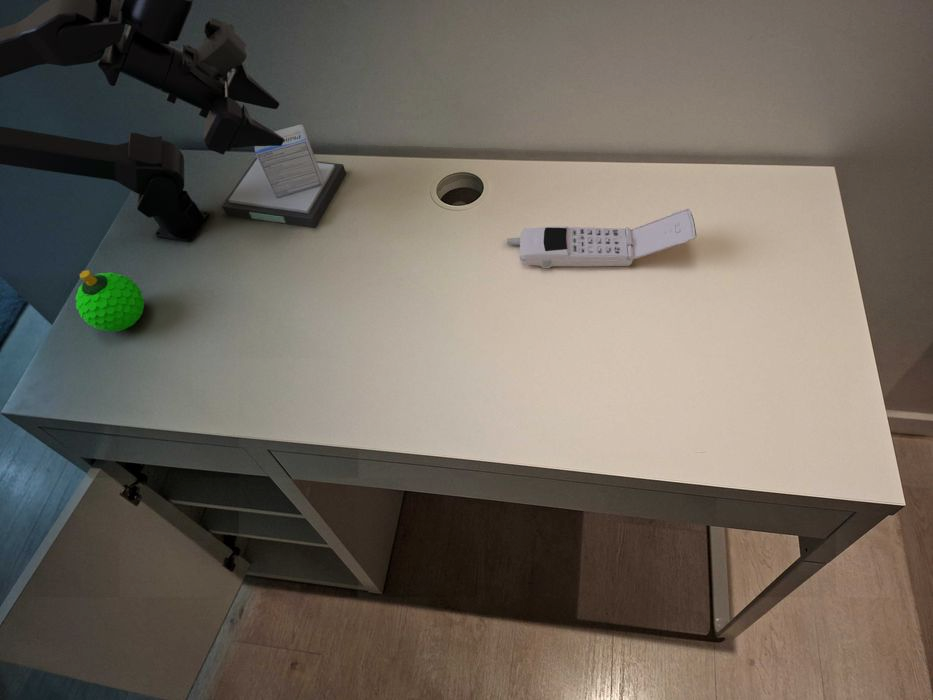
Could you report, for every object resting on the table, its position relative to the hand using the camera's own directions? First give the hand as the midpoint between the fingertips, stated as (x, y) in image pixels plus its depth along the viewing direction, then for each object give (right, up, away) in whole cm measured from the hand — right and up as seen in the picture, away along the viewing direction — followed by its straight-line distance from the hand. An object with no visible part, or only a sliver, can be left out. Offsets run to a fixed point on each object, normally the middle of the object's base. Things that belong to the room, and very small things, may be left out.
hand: (280, 123), depth 86 cm
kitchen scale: (-2, -7, +12) cm, 14 cm away
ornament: (-22, -29, -1) cm, 36 cm away
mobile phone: (+45, -19, -2) cm, 49 cm away
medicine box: (0, -6, +9) cm, 11 cm away
